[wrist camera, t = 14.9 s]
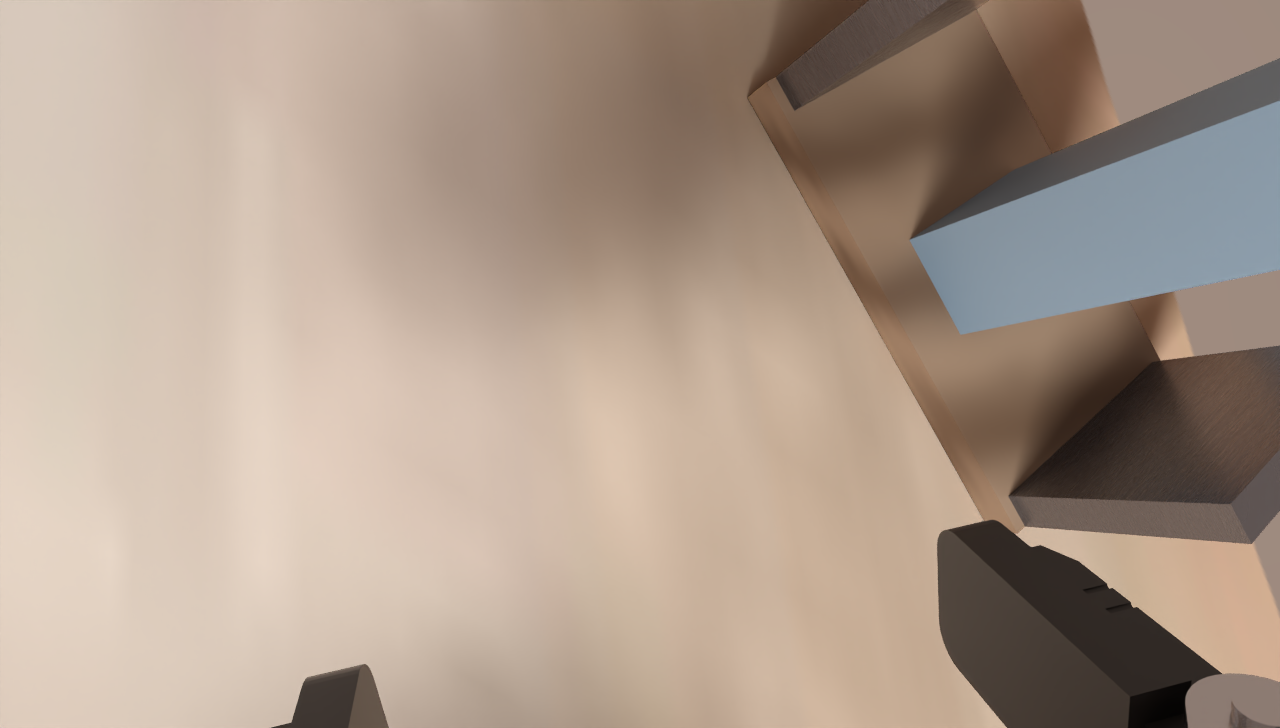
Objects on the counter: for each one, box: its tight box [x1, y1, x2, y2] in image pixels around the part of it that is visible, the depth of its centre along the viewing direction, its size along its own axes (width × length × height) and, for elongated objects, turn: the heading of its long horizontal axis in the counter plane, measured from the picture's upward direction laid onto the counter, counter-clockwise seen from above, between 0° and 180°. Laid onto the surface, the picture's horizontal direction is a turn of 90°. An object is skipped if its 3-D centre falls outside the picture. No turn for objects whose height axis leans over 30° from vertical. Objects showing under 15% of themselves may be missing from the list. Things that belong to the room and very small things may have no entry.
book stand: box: [748, 9, 1160, 533], centre depth 37 cm, size 21×12×2 cm, turn 32°
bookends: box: [776, 0, 1280, 544], centre depth 32 cm, size 21×11×9 cm, turn 32°
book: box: [910, 58, 1280, 335], centre depth 29 cm, size 4×7×16 cm, turn 122°
